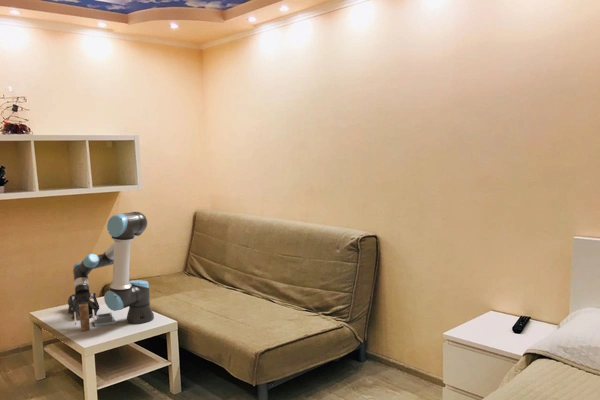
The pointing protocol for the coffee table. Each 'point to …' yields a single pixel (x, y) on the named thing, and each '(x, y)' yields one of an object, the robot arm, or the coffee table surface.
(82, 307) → the walnut post
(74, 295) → the muzzle brake
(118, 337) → the coffee table surface
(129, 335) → the coffee table surface
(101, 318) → the socket stand
